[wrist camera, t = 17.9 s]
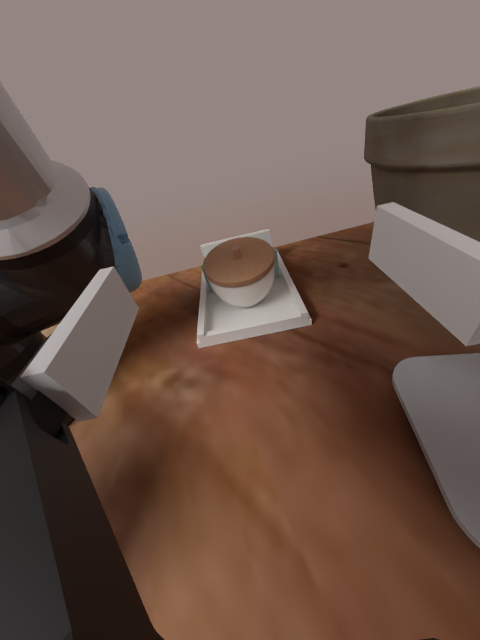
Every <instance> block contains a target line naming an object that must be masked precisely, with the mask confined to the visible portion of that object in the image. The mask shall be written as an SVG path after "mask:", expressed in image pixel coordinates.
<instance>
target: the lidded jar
mask: <svg viewBox="0 0 480 640" xmlns="http://www.w3.org/2000/svg"><path fill="white" fill-rule="evenodd" d="M203 270H204V273H205V275H206V277H207V278H208V281H209V283H210V285H211V287H212V289H213V291H214V292H215V293H216V295H217V296H218V297H219V298H220V299H221V300H222V301H224V302H225V303H227V304H229V305H232V306H236V307H240V308H247V307H251V306H254V305H256V304H258V303H259V302H260V301H261V300H262V299H264V298H265V297H266V295H267V294H268V293H269V291H270V290H271V287H272V285H273V281H274V276H275V254H274V250H273V248H272V246H271V245H270V244H269V243H267V242H266V241H264V240H262V239H259V238H254V237H240V238H235V239H231V240H228V241H225V242H223V243H221V244H219V245H217V246H216V247H214V248H213V249H212V250H211V251H210V252H209V253H208V254H207V256H206V257H205V259H204V263H203Z"/></svg>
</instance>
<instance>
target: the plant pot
mask: <svg viewBox="0 0 480 640" xmlns="http://www.w3.org/2000/svg"><path fill="white" fill-rule="evenodd" d="M364 159H365V161H366V162H368V163H369V164H371V172H372V182H373V192H374V199H375V208H377V206H378V205H383V204H387V203H391V202H394V203H396V204H399V205H401V206H403V207H405V208H407V209H409V210H412V211H414V212H416V213H418V214H420V215H422V216H425V217H427V218H429V219H431V220H433V221H435V222H437V223H440V224H442V225H444V226H446V227H448V228H450V229H453V230H455V231H457V232H459V233H461V234H463V235H465V236H468V237H470V238H472V239H474V240H478V241H480V87H475V88H471V89H466V90H461V91H457V92H452V93H448V94H444V95H439V96H435V97H431V98H427V99H422V100H419V101H415V102H412V103H408V104H404V105H400V106H396V107H392V108H389V109H385V110H382V111H379V112H376V113H373V114H371V115H369V116H368V117H367V119H366V132H365V150H364Z"/></svg>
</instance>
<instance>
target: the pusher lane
mask: <svg viewBox="0 0 480 640" xmlns="http://www.w3.org/2000/svg"><path fill="white" fill-rule="evenodd" d="M240 237H254V238H259V239H262V240H264V241H266V242H267V243H269V244H270V245H271V246H272V243H271V234H270V230H269V229H267V230H262V231H258V232H254V233H250V234H245V235H241V236H237V237H232V238H228V239H224V240H220V241H215V242H212V243H207V244H203V245H201V249H202V253H203V256H204V258H205V257H206V256H207V254H208V253H209V252H210V251H211V250H212V249H213V248H214V247H216V246H217V245H219V244H221V243H223V242H225V241H228V240H231V239H235V238H240ZM276 250H277V249H276ZM277 255H278V264H279V273H280V276H277V277H274V281H273V285H272V287H271V290H270V291H269V293H268V294H267V295H266V297H265V298H264V299H262V300H261V301H260V302H259V303H258V304H256V305H254V306H251V307H247V308H240V307H236V306H232V305H229V304H227V303H225V302H224V301H222V300H221V299H220V298H219V297H218V296H217V295H216V293H215V292H214V291H209V289H208V286H207V283H206V280H205V277H204V274H203V271H202V280H201V291H200V303H199V315H198V327H197V345H198V348H202V347H207V346H212V345H217V344H222V343H226V342H231V341H236V340H241V339H246V338H251V337H255V336H260V335H265V334H270V333H275V332H280V331H284V330H289V329H294V328H299V327H304V326H308V325H312V319H311V317H310V315H309V313H308V311H307V309H306V307H305V305H304V303H303V301H302V299H301V297H300V295H299V293H298V291H297V289H296V287H295V285H294V283H293V281H292V279H291V277H290V275H289V273H288V271H287V269H286V267H285V265H284V263H283V261H282V259H281V257H280V255H279V253H278V251H277Z"/></svg>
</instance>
